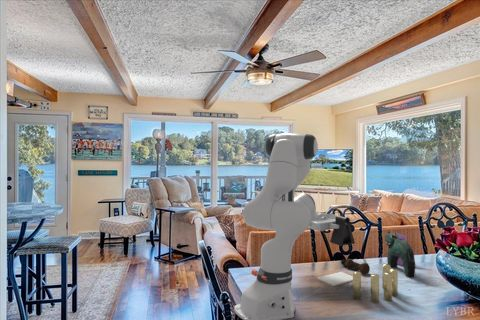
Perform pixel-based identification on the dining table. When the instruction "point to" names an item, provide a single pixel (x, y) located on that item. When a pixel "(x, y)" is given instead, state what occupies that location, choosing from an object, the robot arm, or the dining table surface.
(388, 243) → the green animal figurine
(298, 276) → the dining table surface
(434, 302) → the dining table surface
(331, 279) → the mat
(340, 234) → the phone stand
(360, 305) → the dining table surface
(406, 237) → the toy chair
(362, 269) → the bolt
